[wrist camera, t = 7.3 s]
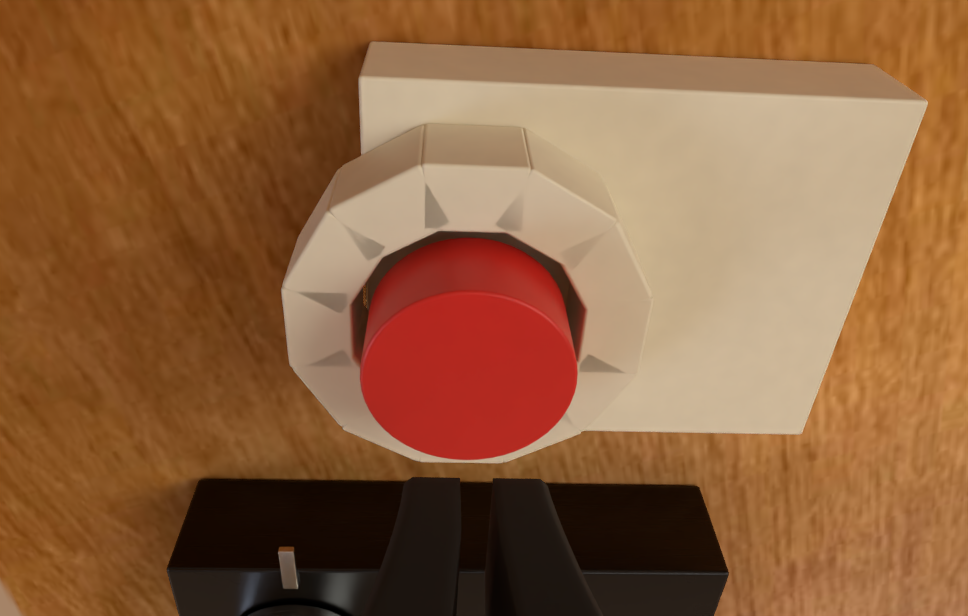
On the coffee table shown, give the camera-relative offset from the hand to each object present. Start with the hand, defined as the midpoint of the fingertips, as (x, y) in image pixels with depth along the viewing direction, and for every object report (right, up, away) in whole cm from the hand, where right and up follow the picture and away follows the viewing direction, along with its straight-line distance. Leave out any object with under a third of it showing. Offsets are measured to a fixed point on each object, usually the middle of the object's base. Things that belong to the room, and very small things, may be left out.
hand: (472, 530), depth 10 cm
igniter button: (0, +3, +4) cm, 5 cm away
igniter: (+3, +5, +7) cm, 9 cm away
